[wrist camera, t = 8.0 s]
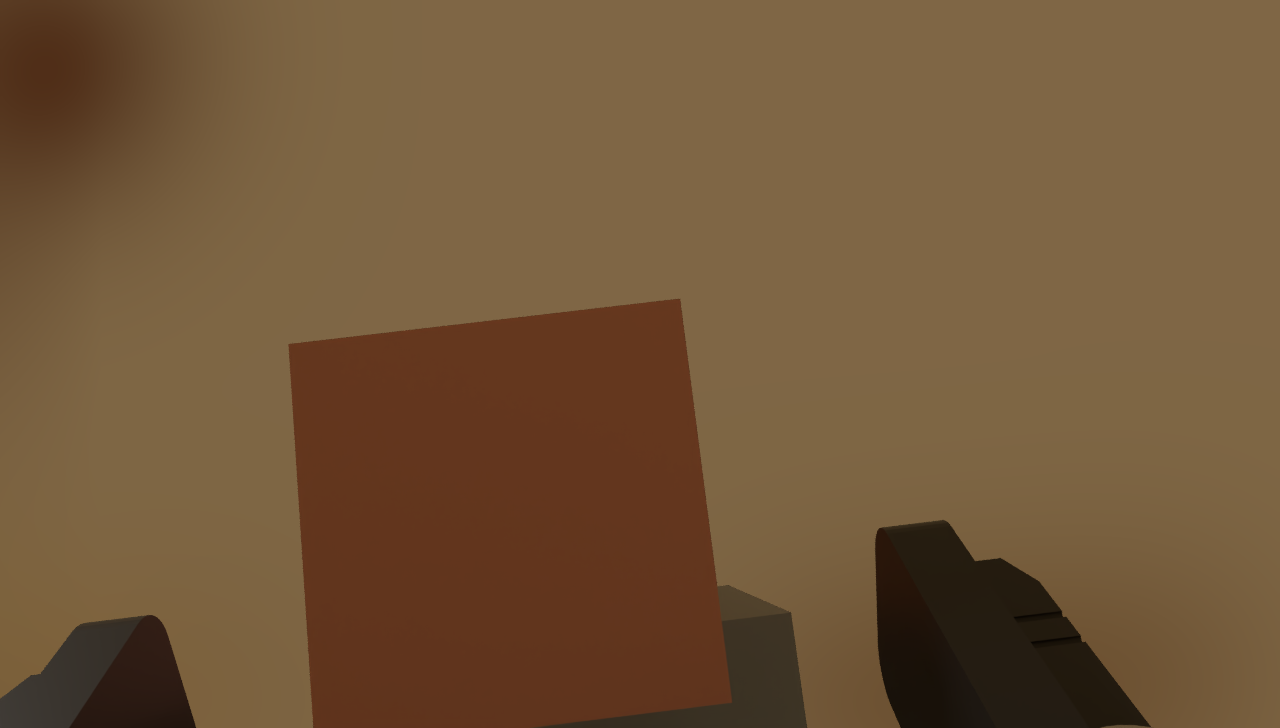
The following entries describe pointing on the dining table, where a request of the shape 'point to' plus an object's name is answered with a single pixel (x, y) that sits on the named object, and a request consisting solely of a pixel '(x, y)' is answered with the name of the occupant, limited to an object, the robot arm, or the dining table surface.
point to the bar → (506, 523)
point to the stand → (740, 674)
